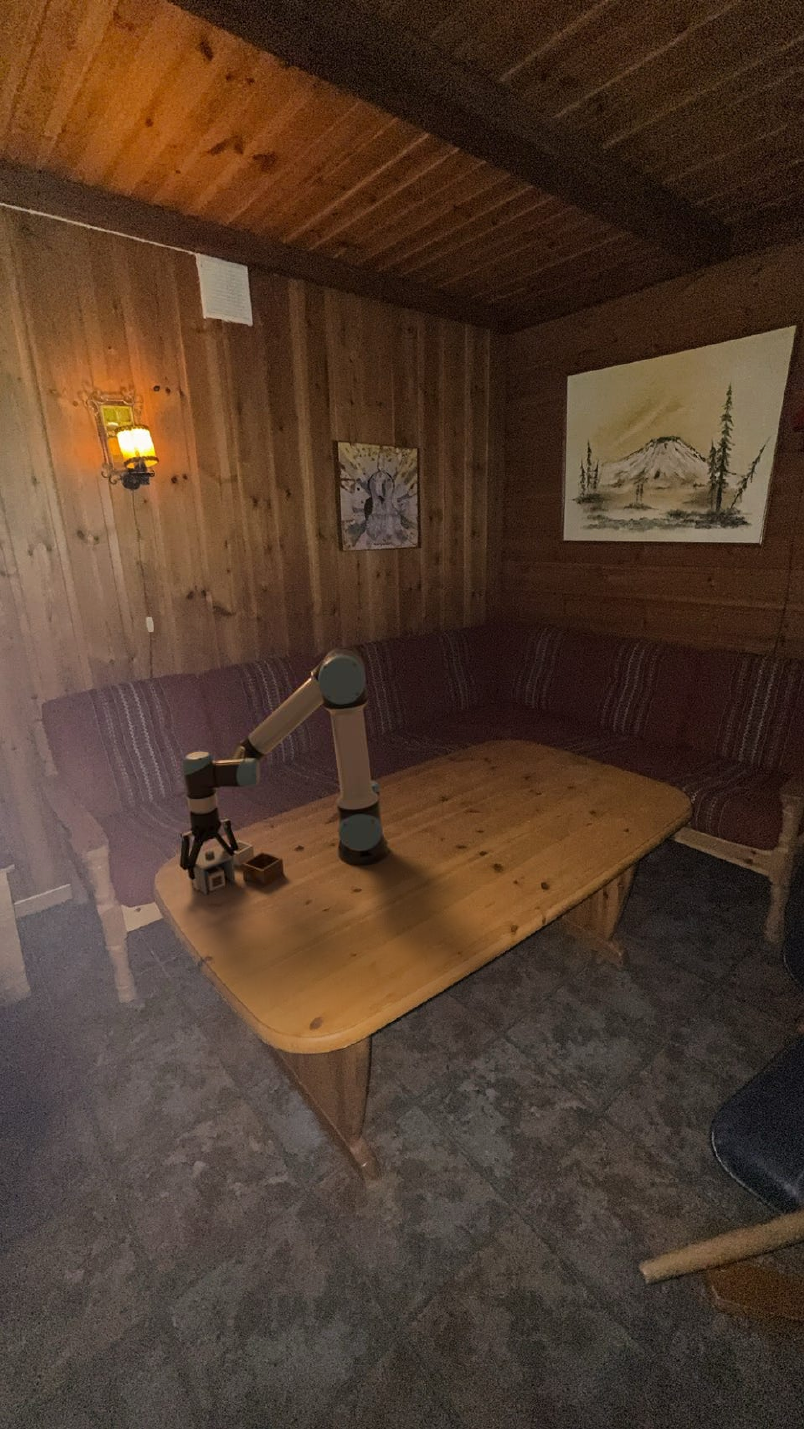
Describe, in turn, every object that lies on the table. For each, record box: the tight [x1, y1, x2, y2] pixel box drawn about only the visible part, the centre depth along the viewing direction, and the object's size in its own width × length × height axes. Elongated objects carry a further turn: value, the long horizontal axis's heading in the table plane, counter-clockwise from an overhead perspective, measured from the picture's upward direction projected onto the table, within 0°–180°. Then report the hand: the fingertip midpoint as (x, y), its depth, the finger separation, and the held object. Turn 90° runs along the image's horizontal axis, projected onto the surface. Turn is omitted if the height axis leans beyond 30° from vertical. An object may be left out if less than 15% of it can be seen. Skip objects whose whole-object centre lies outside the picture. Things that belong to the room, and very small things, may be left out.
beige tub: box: [223, 840, 255, 868], centre depth 187 cm, size 6×6×4 cm
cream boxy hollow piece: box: [204, 865, 226, 892], centre depth 174 cm, size 5×4×5 cm
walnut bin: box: [241, 851, 285, 888], centre depth 178 cm, size 8×8×5 cm
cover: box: [190, 845, 236, 896], centre depth 174 cm, size 9×9×9 cm
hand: (213, 881), depth 176 cm, fingers closed on cover, 9 cm apart
